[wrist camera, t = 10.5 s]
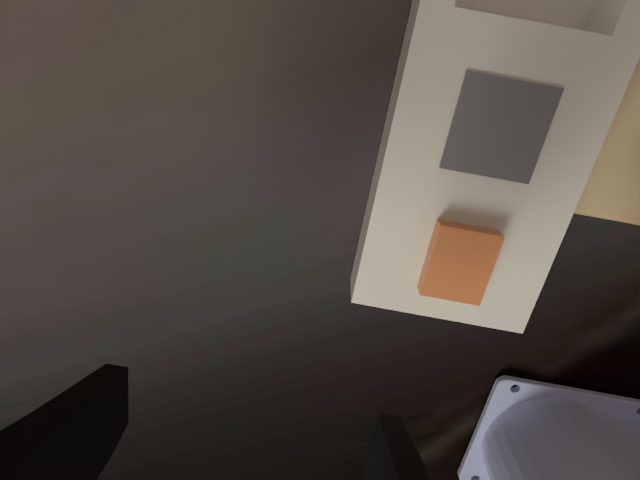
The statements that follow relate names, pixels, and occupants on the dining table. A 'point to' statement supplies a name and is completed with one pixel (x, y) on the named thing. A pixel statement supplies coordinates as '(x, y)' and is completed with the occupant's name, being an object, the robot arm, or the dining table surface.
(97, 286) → the dining table surface
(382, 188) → the white slotted tray
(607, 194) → the cork mat
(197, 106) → the dining table surface
